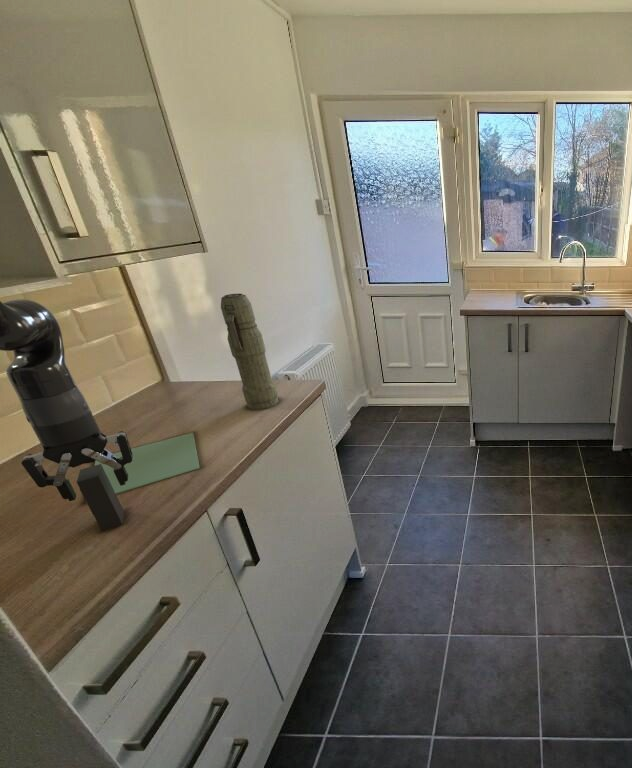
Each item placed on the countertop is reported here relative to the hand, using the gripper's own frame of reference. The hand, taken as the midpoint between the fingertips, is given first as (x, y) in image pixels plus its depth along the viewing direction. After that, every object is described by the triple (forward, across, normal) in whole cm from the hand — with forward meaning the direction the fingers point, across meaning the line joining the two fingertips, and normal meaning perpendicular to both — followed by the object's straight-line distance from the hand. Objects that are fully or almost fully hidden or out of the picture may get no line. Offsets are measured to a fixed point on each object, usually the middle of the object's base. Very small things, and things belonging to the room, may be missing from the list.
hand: (98, 490), depth 80 cm
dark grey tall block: (+8, 0, 0) cm, 8 cm away
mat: (+8, -5, -22) cm, 24 cm away
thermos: (+8, -34, -41) cm, 54 cm away
